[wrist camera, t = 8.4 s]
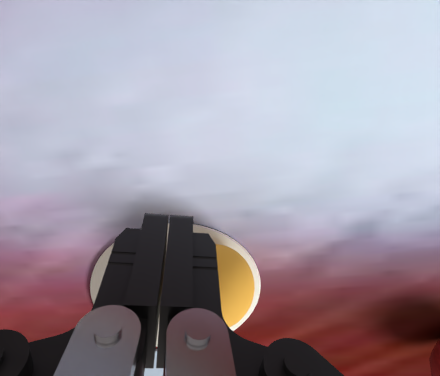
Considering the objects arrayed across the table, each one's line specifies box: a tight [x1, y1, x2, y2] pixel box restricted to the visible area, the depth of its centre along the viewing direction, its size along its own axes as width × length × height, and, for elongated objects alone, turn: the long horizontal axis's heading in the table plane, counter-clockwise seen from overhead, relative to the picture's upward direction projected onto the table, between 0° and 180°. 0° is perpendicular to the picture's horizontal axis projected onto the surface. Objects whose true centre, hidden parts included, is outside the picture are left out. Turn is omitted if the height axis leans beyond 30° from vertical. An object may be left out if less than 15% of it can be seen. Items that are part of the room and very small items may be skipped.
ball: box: [216, 244, 255, 327], centre depth 22 cm, size 6×6×6 cm
